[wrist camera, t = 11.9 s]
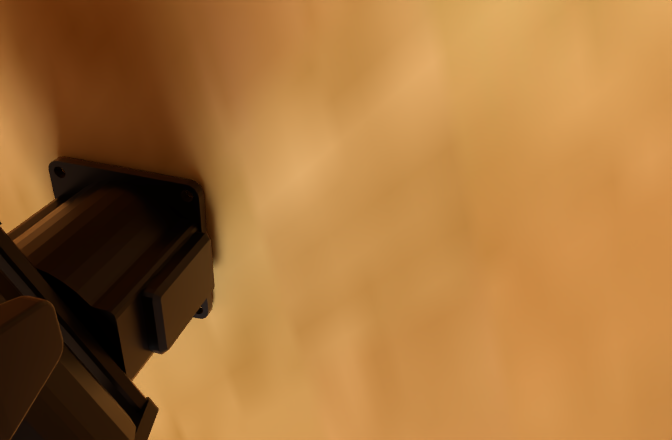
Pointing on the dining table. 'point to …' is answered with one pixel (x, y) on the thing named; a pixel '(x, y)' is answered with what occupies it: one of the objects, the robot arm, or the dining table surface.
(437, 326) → the dining table surface
